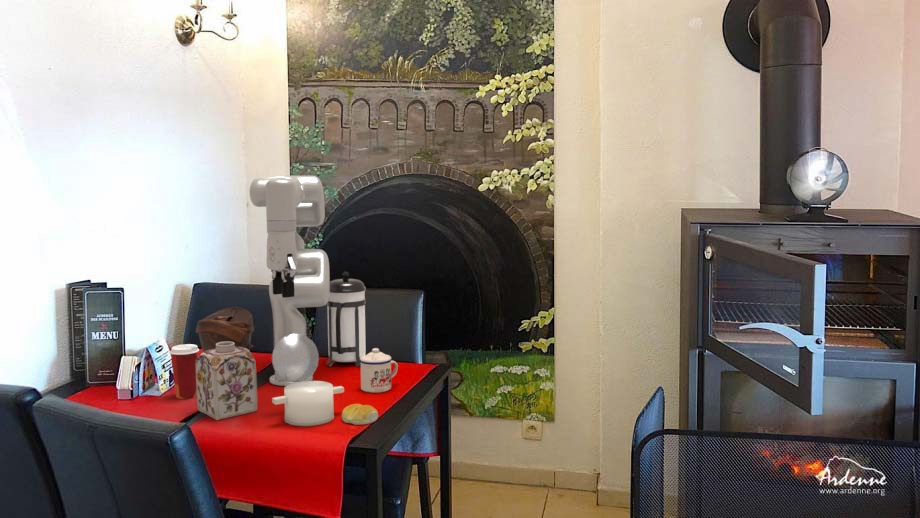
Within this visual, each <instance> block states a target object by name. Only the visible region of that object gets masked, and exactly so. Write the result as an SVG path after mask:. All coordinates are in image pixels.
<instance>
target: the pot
mask: <svg viewBox="0 0 920 518" xmlns="http://www.w3.org/2000/svg"><path fill="white" fill-rule="evenodd" d="M283 391H284V393H283V394H284V395H281V396H275V397H272V398H271V402H272V404H274V405H276V406H277V405H282V404H284V422H285V423H286V424H288V425H291V426H295V427H314V426H319V425H320V426H321V425H324V424H326V423H329V422H331V421H333V420H334V418H335V412H334V409H335V408H334V395H335V394H342V393H345V388H344V386H342V385H339V386H334V385H333V384H332V383H331V382H328V381H323V380H312V381H303V382H296V383H292V384H289V385H287V386H284V388H283Z"/></svg>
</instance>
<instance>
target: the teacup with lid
mask: <svg viewBox="0 0 920 518" xmlns="http://www.w3.org/2000/svg"><path fill="white" fill-rule="evenodd" d="M360 362H361V366H360V389H361V391H363V392H365V393H372V394H373V393H374V394H375V393H376V394H377V393H378V394H379V393H384V392H387V391H389V390H391V389H392V379H393V378H394V377H395V376H396V375H397V372H398V367H399V365H398V363H397V362H396V361H395V360H392V356H391V355H390V354H385V353H384V352H382V351H380V349H379V348H378V347H374V348H372V349H371V351H370V352H368V353H366V355H364V356H362V357H361V358H360ZM392 364H393V367H394V368H393V371H392Z"/></svg>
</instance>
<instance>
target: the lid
mask: <svg viewBox="0 0 920 518" xmlns="http://www.w3.org/2000/svg"><path fill="white" fill-rule="evenodd" d="M319 360H320V355H319V351H318V347H317V346H316V343H315V342H314V341H313V340H312V339H311V338H309V336H307V337H306V336H304V335H301V334H291V335H287V336H285V337H283V338H282V339H281V340H279V341H278V343H277V344H276V345H275V347H274V346H273V350H272V354H271V362H272V367H273V370H274V372H275V371H276V373H277V374H278V375H279V376H280V377H281V378H282V379H284V380H286V381H289V382H301V381H304V380H306V379H308V378H309V377H310V376H312V375H314V373H315V372H316V370H317V368H318V366H319Z"/></svg>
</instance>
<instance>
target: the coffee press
mask: <svg viewBox="0 0 920 518" xmlns="http://www.w3.org/2000/svg"><path fill="white" fill-rule="evenodd" d="M341 276H342V278H337V279H333V280H330V297H329V301H328V303H327V304H326V306H327V307H326V308H327V311H326V312H327V339H328V340H327V342H328V343H327V344H328V345H327V347H328V360H327V361H326V366H328V367H330V368H331V367H333V365H334V364H335V363H353V364H354V365H355V367H356V368H358V367H360V368H361V362H360V358H361V357H362V356H364V355H367V353H366V352H367V351H366V303H367V302H366V298H365V295H366V293H365V292H366V290H367V288H366V286H365V284H364V282H363V281H361V280H360V279H357V278H356V279H355V278H349V277H350V273H349V272H348V271H343V272H342V274H341Z"/></svg>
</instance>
